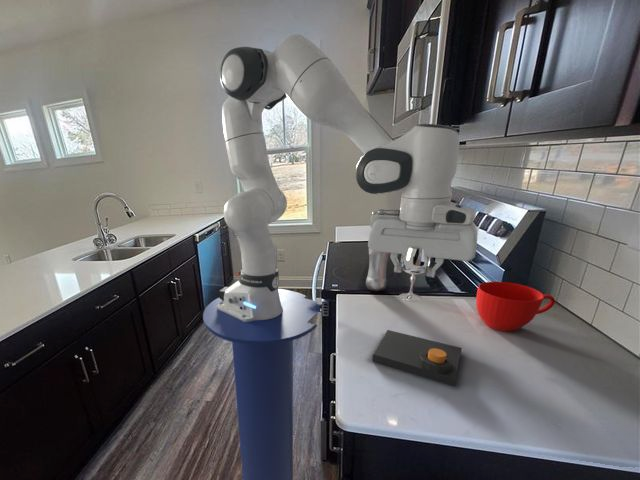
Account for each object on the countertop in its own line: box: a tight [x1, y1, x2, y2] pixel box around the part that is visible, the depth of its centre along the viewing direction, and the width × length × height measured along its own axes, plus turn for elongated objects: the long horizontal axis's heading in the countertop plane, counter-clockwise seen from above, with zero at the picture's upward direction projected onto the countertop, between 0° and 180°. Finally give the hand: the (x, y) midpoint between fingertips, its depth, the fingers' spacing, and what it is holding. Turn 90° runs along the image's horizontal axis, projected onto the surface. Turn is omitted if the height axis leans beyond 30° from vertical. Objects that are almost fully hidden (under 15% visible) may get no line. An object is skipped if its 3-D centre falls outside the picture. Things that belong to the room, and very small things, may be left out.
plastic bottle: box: [365, 248, 390, 292], centre depth 107 cm, size 6×7×20 cm
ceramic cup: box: [475, 281, 556, 332], centre depth 82 cm, size 13×17×10 cm
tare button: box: [428, 348, 447, 364], centre depth 67 cm, size 3×3×2 cm
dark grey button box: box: [371, 329, 463, 387], centre depth 72 cm, size 16×13×4 cm
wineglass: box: [398, 248, 432, 302], centre depth 70 cm, size 6×6×12 cm
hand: (414, 274), depth 70 cm, fingers closed on wineglass, 5 cm apart
